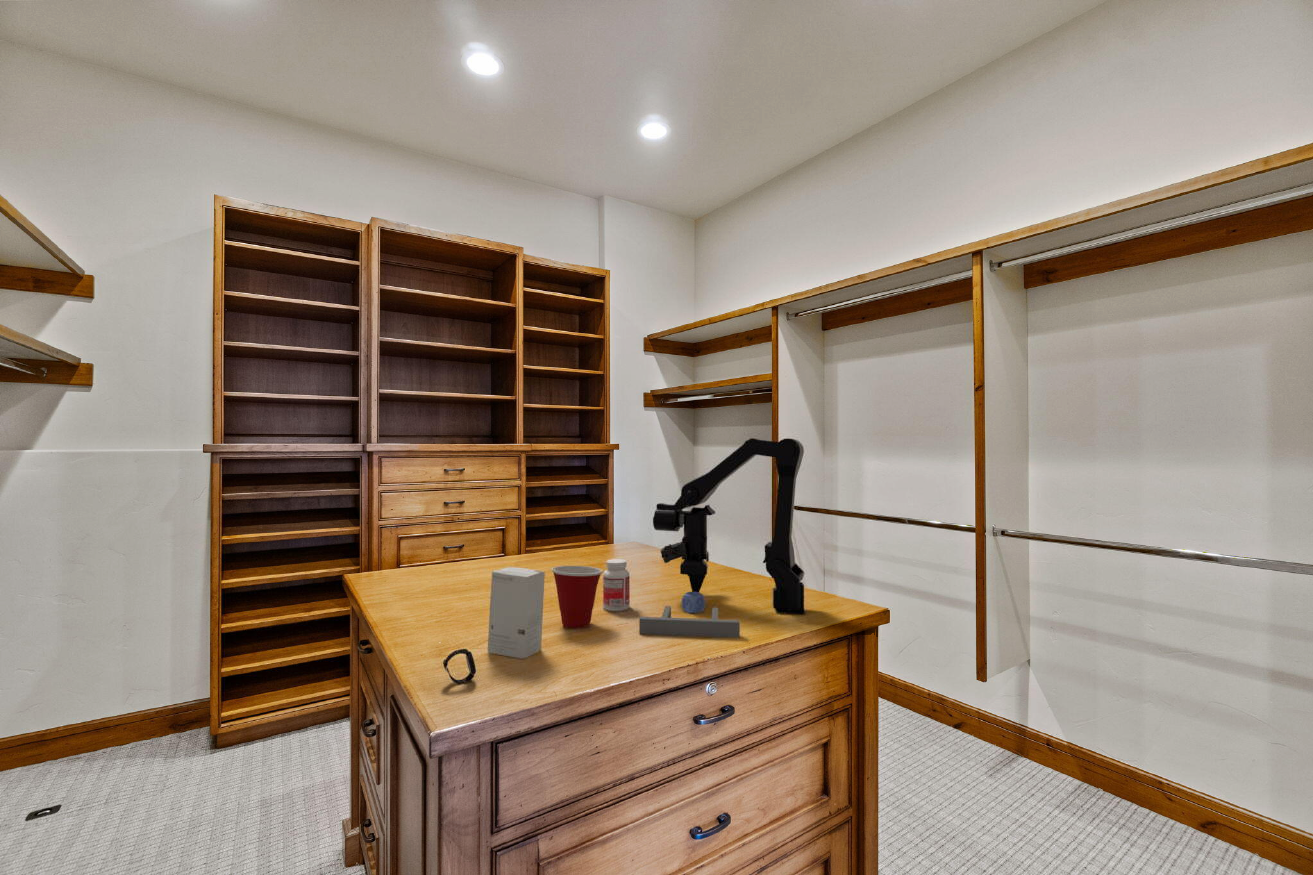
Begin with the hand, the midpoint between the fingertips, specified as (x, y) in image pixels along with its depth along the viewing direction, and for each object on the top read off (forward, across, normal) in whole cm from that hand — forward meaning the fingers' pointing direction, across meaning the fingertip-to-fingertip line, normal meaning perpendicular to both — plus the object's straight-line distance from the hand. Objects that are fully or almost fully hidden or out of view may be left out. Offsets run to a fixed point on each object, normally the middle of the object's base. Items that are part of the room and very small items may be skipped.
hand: (695, 596), depth 139 cm
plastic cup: (+1, +22, -24) cm, 33 cm away
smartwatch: (+1, +53, -35) cm, 64 cm away
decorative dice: (+1, +9, 0) cm, 9 cm away
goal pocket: (+1, +22, 0) cm, 22 cm away
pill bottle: (+1, +9, -18) cm, 20 cm away
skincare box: (+1, +39, -31) cm, 50 cm away
